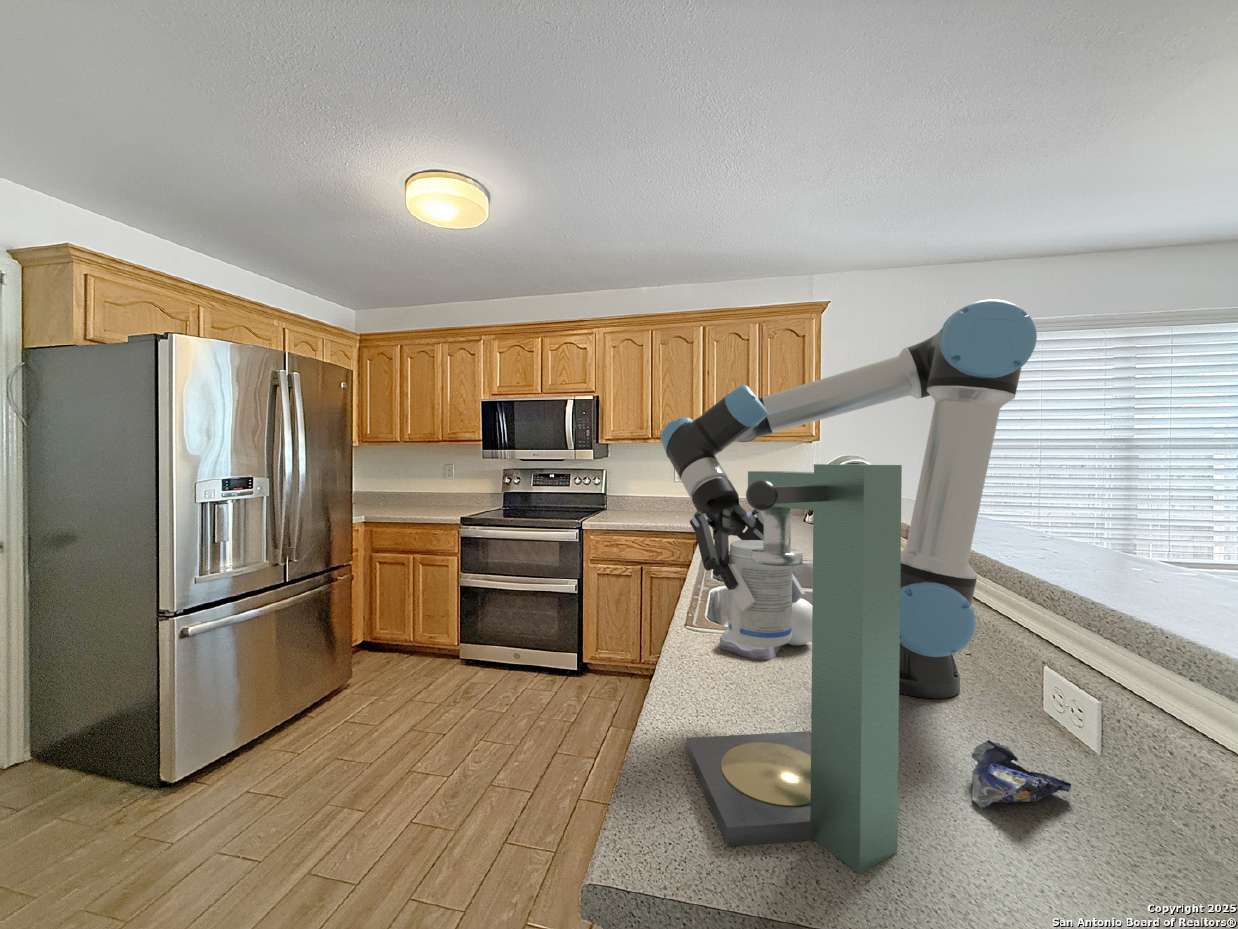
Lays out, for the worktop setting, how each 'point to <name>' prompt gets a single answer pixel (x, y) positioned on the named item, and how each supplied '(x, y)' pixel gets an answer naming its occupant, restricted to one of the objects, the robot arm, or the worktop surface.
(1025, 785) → the snack package
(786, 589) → the supplement tub
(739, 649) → the stone block
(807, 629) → the ornament
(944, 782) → the worktop surface
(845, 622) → the arbor press
